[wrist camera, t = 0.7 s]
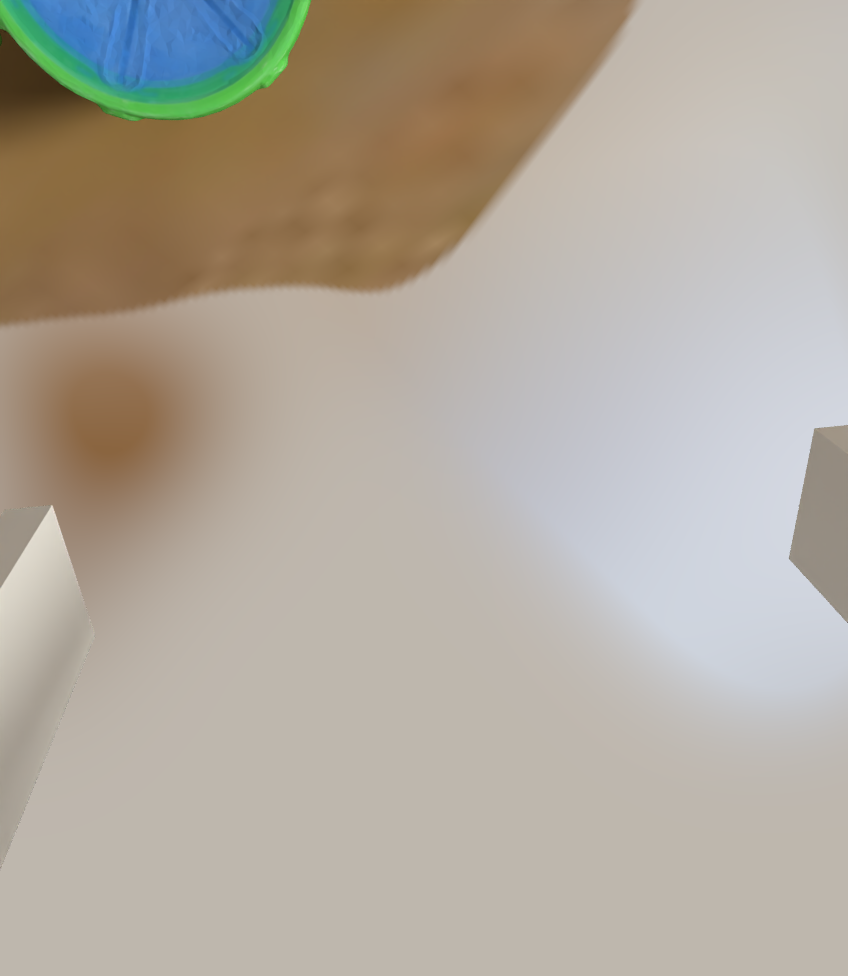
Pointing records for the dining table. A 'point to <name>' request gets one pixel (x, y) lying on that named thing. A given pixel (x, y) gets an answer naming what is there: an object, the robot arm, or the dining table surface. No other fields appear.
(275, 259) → the dining table surface
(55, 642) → the robot arm
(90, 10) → the snack cup
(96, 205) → the dining table surface
